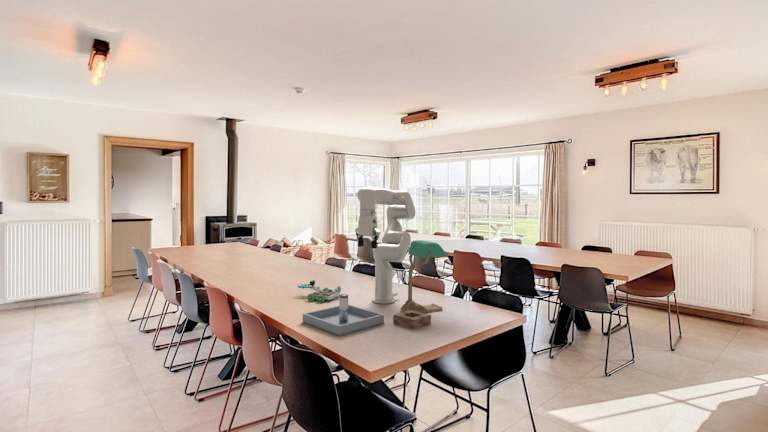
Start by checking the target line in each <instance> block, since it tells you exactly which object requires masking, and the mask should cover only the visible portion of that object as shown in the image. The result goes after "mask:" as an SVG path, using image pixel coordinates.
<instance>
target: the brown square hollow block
mask: <svg viewBox="0 0 768 432" xmlns="http://www.w3.org/2000/svg"><path fill="white" fill-rule="evenodd" d="M392 319H393V322H392V323H393V324H394V325H397V326H401V327H403V328H404V327H405V328H408V329H411V330H416V329H420V328H423V327H425V326H428V325H431V324H432V314H428V313H421V312H417V311H413V310H409V311H405V312H402V311H401V312H398V313H396V314H393V318H392Z"/></svg>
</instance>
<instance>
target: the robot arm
mask: <svg viewBox="0 0 768 432" xmlns="http://www.w3.org/2000/svg"><path fill="white" fill-rule="evenodd" d="M357 199H358V201H359V217H358V227H357V228H355V230H354V231H355V236H356V237H357V247H359V248H360V247H364V237H370V238H371V242H370V243H371V244H370V245H371V249H373V258H374V277H375V279H374V297H372V298H371V301H372V302H373V303H375V304H383V305H385V304H387V305H389V304H392V303H395V302H396V299H395V298H394V297H396V296H397V297H398V295H399V293H398V291H396V292H393V275H394V274H393V266H392V264H391V263H402V262H403V261H404V260H405V258H406V257H407V253H408V252H409V249H410V245H411V242H412V241H411V234H410V233H409V232H408V231H405V230H403V226H402V225H401V223H400V222H399V220H408V221H409V220H412V219H414V218H415V217H416V207H415V205H414V204H415V203H414V202H413V198H412V197H411V194H410V193H409V191H408V190H392V189H387V188H380V187H362V188H360V189H358V192H357ZM376 205H385V206H388V207H387V209H386V220H387V228H386V230H385V232H384V234H383V236H382V240H381V243H379V244H378V240H379V238H380V236H381V231H380V230H379V225H378V219H377V216H376ZM390 262H391V263H390Z"/></svg>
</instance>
